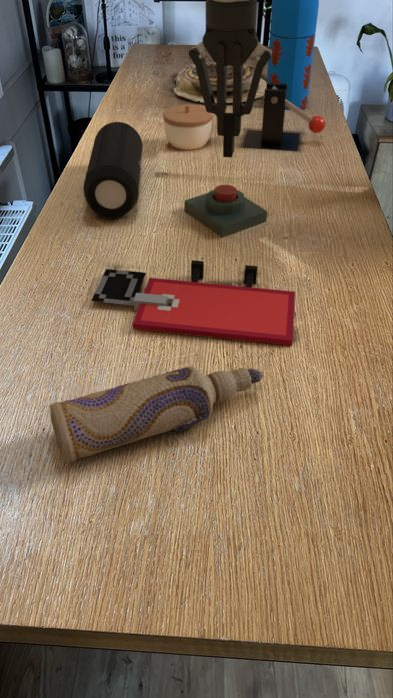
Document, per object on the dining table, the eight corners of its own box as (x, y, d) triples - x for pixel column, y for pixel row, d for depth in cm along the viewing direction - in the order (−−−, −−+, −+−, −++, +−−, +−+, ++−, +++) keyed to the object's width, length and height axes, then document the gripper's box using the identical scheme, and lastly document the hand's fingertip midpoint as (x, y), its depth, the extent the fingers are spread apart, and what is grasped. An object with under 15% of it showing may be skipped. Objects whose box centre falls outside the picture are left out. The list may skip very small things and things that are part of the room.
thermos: (256, 105, 153) (263, -6, 136) (283, 95, 158) (293, -12, 142) (288, 115, 147) (299, 1, 130) (315, 105, 152) (329, -6, 136)
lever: (318, 132, 131) (328, 119, 129) (318, 138, 128) (328, 125, 126) (266, 96, 128) (275, 81, 126) (264, 102, 125) (274, 87, 123)
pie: (233, 67, 177) (234, 49, 174) (290, 92, 160) (292, 73, 157) (151, 83, 166) (150, 65, 163) (203, 112, 149) (203, 92, 146)
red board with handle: (109, 267, 96) (82, 325, 85) (108, 252, 94) (79, 310, 83) (294, 284, 92) (291, 348, 81) (297, 269, 90) (293, 332, 80)
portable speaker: (140, 223, 107) (135, 171, 101) (85, 224, 107) (77, 172, 100) (144, 163, 126) (141, 116, 120) (98, 164, 126) (92, 117, 120)
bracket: (299, 139, 136) (305, 80, 127) (296, 156, 129) (303, 96, 120) (247, 135, 138) (250, 78, 129) (242, 153, 130) (245, 93, 122)
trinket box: (167, 159, 128) (165, 115, 122) (162, 140, 136) (160, 98, 130) (216, 155, 129) (216, 112, 123) (207, 137, 137) (207, 95, 131)
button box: (266, 221, 107) (268, 201, 105) (222, 238, 103) (222, 217, 100) (227, 196, 115) (227, 177, 112) (184, 211, 110) (183, 191, 108)
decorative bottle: (67, 479, 65) (57, 439, 60) (53, 431, 70) (43, 391, 66) (275, 413, 72) (280, 373, 68) (249, 374, 77) (251, 334, 73)
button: (240, 199, 106) (241, 190, 105) (222, 205, 104) (223, 196, 103) (227, 191, 109) (227, 182, 107) (209, 197, 107) (209, 188, 106)
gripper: (182, 1, 84) (187, 160, 99) (274, 3, 82) (264, 165, 97) (192, -10, 89) (195, 143, 105) (278, -8, 87) (268, 147, 103)
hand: (228, 153), depth 101 cm, fingers closed
